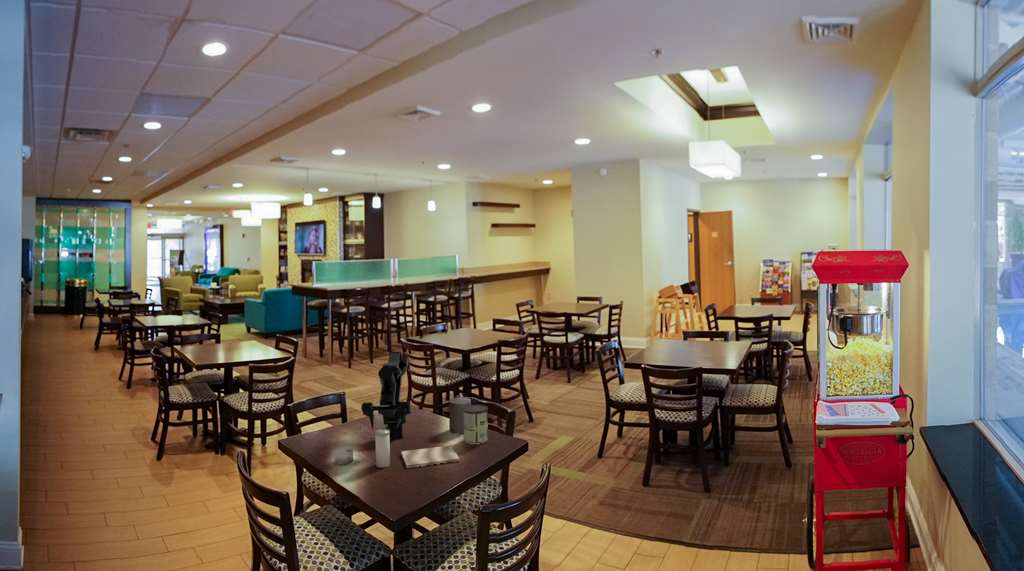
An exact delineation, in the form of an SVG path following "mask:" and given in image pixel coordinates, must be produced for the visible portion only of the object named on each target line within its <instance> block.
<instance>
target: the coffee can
mask: <svg viewBox="0 0 1024 571" xmlns="http://www.w3.org/2000/svg"><path fill="white" fill-rule="evenodd" d="M463 411H464V433H463V437H464V438H463V441H465V442H466V443H465V442H464V443H465V444H467V443H469V444H468V445H474V444H476V445H481V444H480V443H483V444H485V443H484V442H486V441H487V440H488V441H489V434H488V432H489V431H488V430H489V429H488V428H489V427H488V426H489V424H488V423H489V422H488V418H489V417H488V411H489V408H488V406H487V405H483V404H471V405H469V406H466V407H464V408H463ZM488 441H487V442H488ZM487 442H486V443H487Z"/></svg>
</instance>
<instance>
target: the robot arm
mask: <svg viewBox="0 0 1024 571" xmlns="http://www.w3.org/2000/svg"><path fill="white" fill-rule="evenodd" d="M387 360H388V361H387V362H386V363H384V364H383V365H382V366H381V368H380V369H379V371H378V373H377V374H378V378H379V382H380V386H381V387H380V398H379V405H374V403H373V401H371V402H370V401H368V402H366V401H365V402H363V403H362V404H361V408H360V409H361V411H362V412H361V413H362V414H363V416H366V418H367V417H368V418H369V422H370V426H371V429H372V430H373V429H374V426H375V425H374V423H375V422H374V418H375V414H374V413H375V411H377V414H378V415H381V416H382V420H383V421H382V422H383V426H384V425H385V427H384V429H388V430H390V434H389V436H390V441H391V440H400V439H404V435H403V425H404V424H406V422H407V420H406V419H407V417H406V416H408V415H411V413H412V406H411V402H410V401H407V400H406V401H401V393H402V392H401V391H402V381H403V376H404V375H405V374H406V372H407V369H408V367H409V359H408V356H407V355H406V354H403V351H396V350H395V351H394V350H393V351H390V353H389V356H388V359H387Z"/></svg>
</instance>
